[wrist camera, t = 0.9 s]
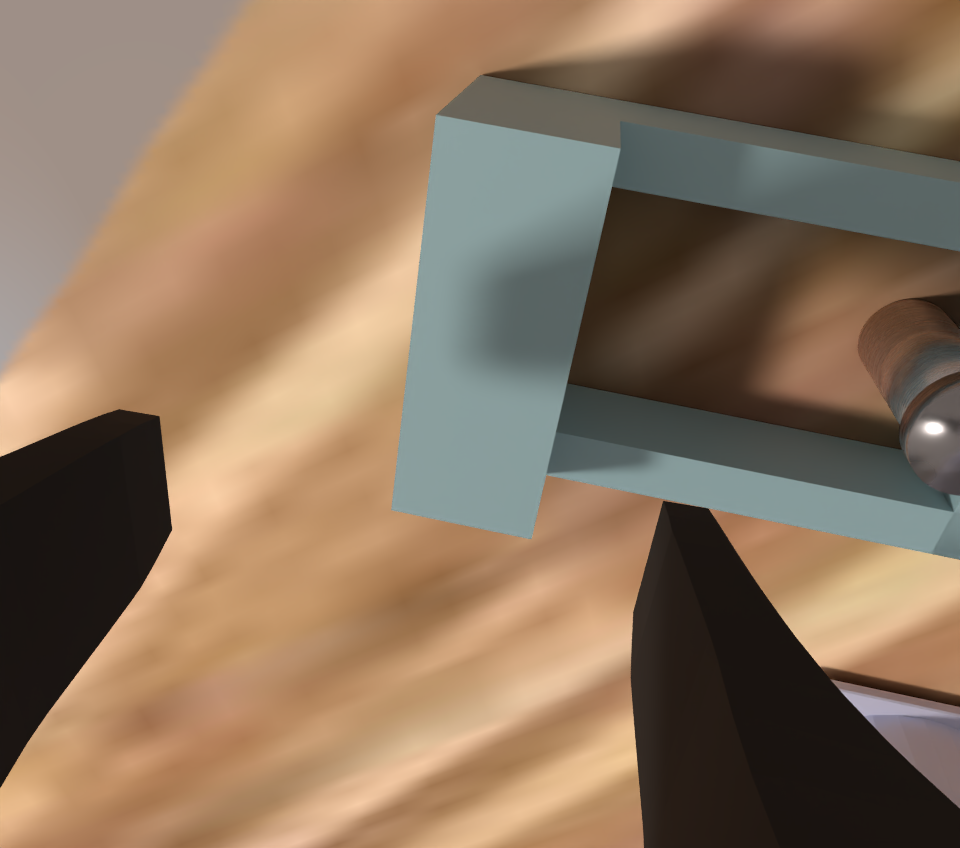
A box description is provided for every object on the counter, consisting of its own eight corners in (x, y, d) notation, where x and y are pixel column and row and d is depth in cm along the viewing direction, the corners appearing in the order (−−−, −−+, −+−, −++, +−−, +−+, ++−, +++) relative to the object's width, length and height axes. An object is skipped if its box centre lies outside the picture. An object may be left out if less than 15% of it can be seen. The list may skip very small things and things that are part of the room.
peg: (980, 302, 18) (1080, 398, 14) (934, 395, 20) (1014, 507, 16) (872, 281, 18) (942, 371, 14) (833, 375, 20) (887, 481, 16)
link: (1116, 189, 17) (1287, 271, 12) (945, 501, 21) (1030, 643, 17) (480, 74, 17) (435, 114, 13) (436, 399, 22) (391, 510, 17)
